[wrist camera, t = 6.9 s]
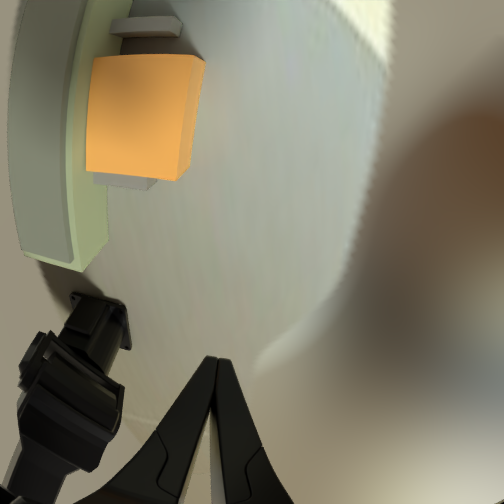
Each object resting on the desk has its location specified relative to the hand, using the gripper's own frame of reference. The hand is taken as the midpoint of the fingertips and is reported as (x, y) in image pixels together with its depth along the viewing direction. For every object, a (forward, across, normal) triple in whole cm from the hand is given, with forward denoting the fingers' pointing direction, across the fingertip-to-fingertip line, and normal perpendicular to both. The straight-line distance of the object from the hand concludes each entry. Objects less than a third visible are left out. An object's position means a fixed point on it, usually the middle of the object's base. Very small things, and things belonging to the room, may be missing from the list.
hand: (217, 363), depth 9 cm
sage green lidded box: (+12, +11, -7) cm, 18 cm away
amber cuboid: (+12, +7, -6) cm, 15 cm away
